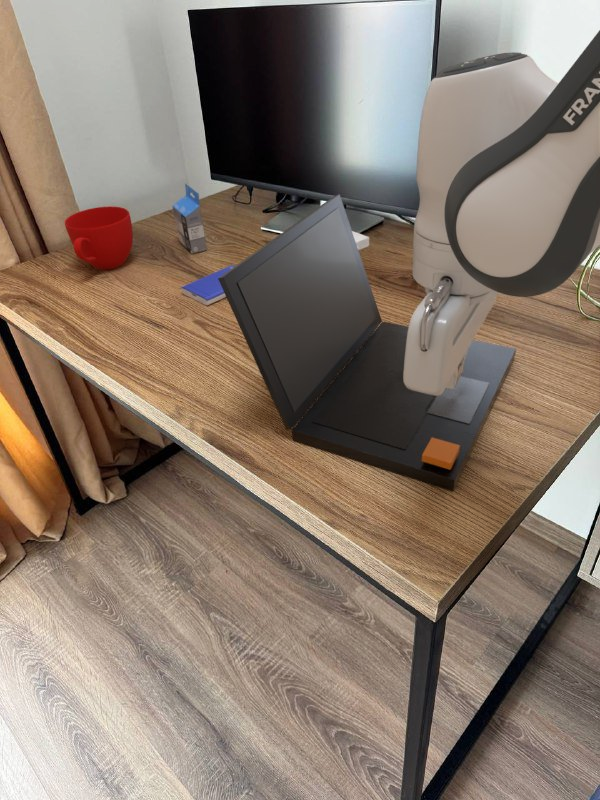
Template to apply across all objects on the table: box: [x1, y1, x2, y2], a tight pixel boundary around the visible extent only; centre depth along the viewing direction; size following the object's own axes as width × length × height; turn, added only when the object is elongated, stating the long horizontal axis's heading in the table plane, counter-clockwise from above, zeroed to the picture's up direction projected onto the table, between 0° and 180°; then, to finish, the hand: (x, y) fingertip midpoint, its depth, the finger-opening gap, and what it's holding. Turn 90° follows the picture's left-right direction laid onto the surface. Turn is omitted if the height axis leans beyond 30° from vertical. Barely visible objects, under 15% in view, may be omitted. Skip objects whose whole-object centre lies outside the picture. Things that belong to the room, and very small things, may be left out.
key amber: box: [422, 438, 460, 470], centre depth 68 cm, size 3×3×1 cm
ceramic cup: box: [64, 205, 134, 270], centre depth 121 cm, size 13×17×10 cm
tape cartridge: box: [172, 183, 208, 255], centre depth 126 cm, size 9×4×12 cm, turn 28°
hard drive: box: [180, 264, 236, 306], centre depth 112 cm, size 2×8×12 cm
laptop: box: [291, 321, 517, 492], centre depth 81 cm, size 21×30×2 cm
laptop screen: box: [218, 193, 383, 431], centre depth 80 cm, size 21×30×1 cm
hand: (450, 380), depth 62 cm, fingers closed
